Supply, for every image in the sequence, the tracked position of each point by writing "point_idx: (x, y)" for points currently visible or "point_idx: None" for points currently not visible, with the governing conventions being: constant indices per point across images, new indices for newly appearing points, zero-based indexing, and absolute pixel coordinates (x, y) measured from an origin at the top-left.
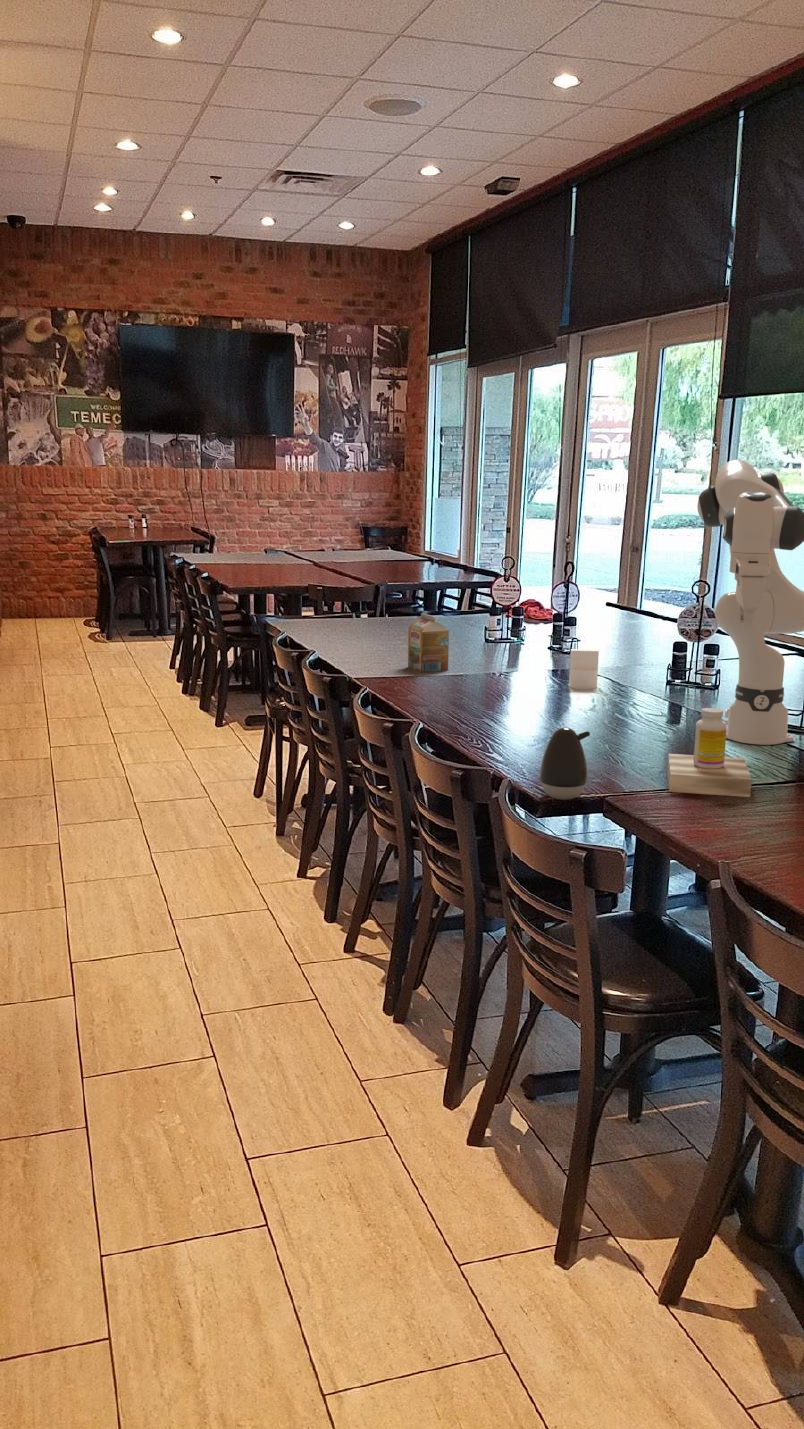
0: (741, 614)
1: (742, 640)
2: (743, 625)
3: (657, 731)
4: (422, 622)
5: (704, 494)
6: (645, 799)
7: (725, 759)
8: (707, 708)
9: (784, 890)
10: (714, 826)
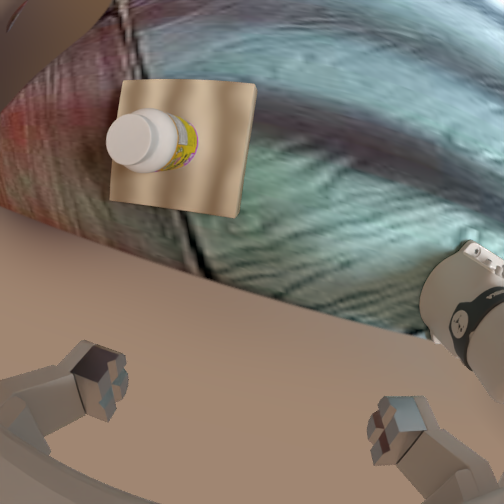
0: (421, 441)
1: None
2: (94, 352)
3: (499, 151)
4: None
5: None
6: (104, 58)
7: (221, 181)
8: (142, 128)
9: None
10: (31, 139)
